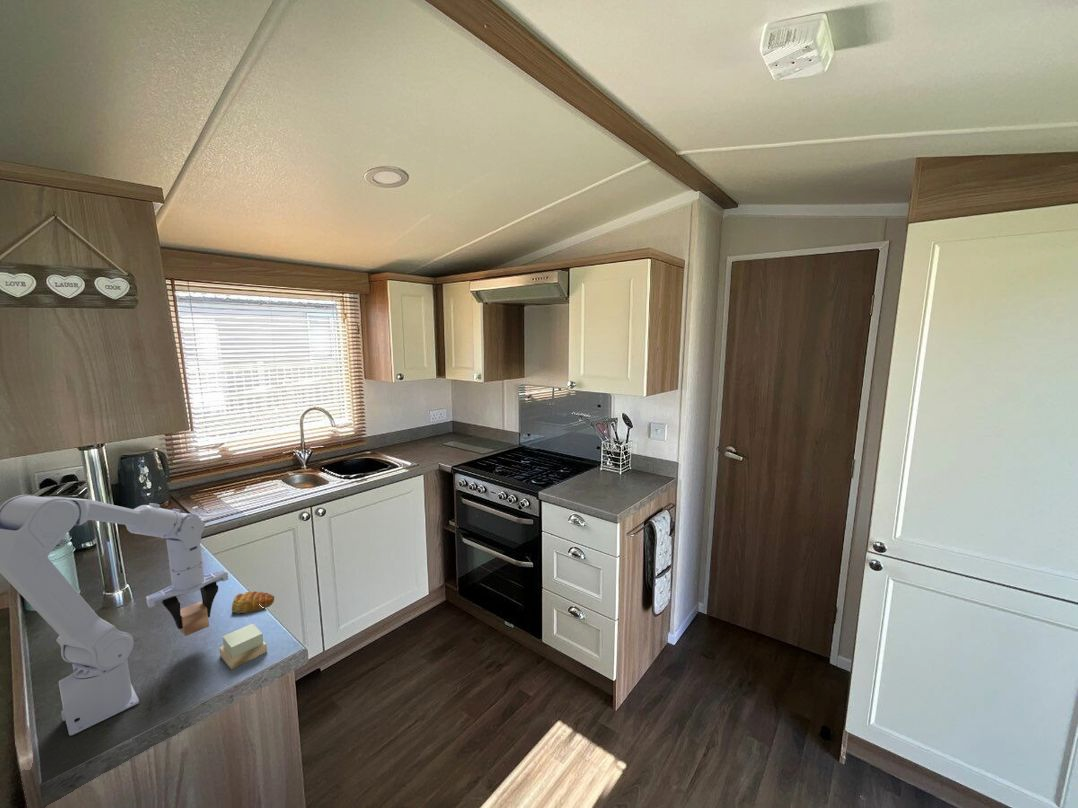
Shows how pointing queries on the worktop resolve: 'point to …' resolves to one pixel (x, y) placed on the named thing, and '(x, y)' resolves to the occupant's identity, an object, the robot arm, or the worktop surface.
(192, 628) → the terracotta cube
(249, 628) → the sage slab
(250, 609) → the pastry
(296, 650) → the worktop surface
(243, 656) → the oak slab
